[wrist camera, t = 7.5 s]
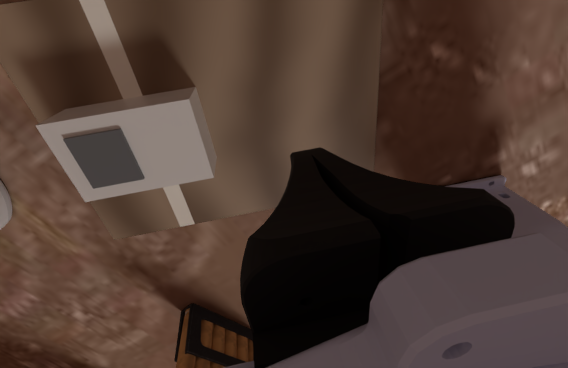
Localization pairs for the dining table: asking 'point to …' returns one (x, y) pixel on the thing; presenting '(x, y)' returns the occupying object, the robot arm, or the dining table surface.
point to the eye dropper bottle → (4, 206)
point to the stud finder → (132, 144)
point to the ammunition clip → (211, 340)
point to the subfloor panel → (209, 86)
